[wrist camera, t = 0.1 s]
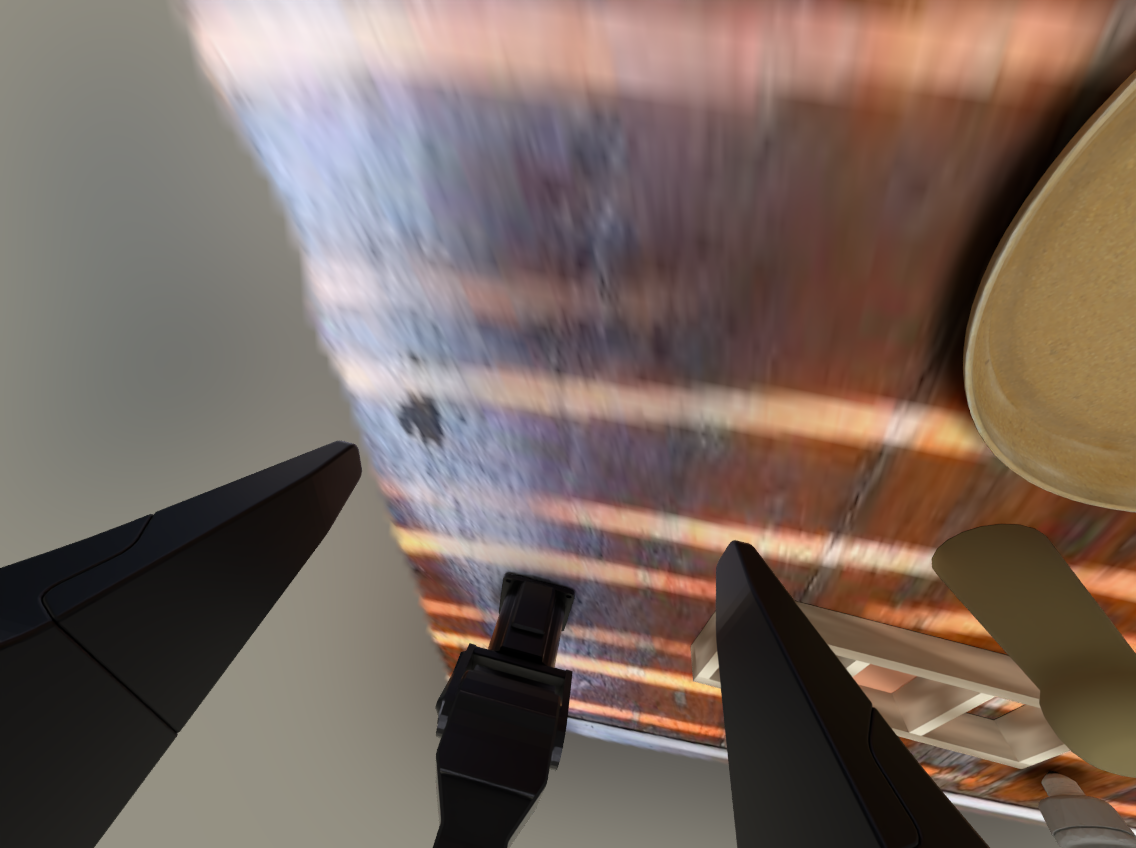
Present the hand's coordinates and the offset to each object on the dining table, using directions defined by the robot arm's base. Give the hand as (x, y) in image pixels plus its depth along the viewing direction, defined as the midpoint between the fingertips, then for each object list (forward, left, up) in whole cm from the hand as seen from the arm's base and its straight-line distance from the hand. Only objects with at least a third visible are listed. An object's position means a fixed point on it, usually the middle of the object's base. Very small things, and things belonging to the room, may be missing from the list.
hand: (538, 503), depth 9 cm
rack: (-24, -29, -15) cm, 41 cm away
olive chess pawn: (-10, -28, -15) cm, 33 cm away
